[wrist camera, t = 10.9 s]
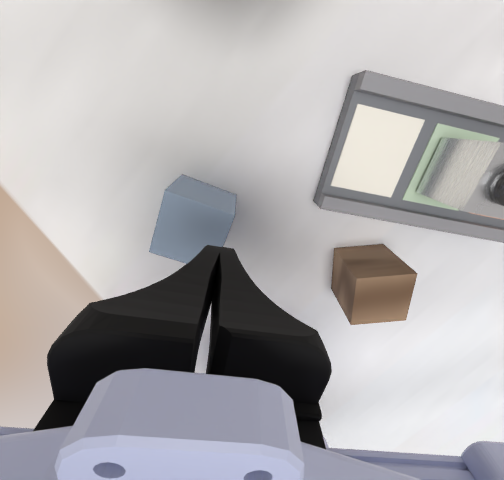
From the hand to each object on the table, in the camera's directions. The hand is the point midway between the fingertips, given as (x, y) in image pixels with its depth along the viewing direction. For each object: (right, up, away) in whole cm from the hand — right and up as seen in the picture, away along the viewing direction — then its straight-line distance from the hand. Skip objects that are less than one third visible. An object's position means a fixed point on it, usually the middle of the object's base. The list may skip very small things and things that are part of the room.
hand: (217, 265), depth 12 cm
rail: (+16, +7, +8) cm, 20 cm away
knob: (+17, +6, +7) cm, 19 cm away
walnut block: (+12, -1, +12) cm, 17 cm away
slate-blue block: (-3, +4, +9) cm, 10 cm away
